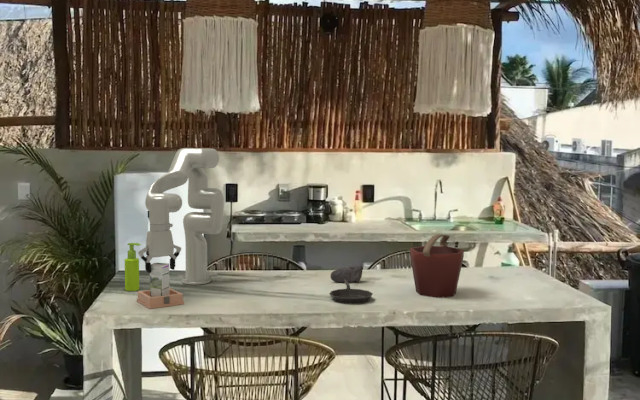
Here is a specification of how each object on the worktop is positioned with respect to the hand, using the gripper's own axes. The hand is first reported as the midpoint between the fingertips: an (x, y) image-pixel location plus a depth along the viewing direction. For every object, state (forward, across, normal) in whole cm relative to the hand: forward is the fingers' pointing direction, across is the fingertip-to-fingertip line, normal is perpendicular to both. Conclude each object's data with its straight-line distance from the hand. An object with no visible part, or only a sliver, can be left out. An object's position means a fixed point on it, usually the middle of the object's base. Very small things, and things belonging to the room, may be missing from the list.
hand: (160, 270), depth 271 cm
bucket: (+14, -105, +46) cm, 116 cm away
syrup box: (+12, +1, +1) cm, 12 cm away
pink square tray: (+13, +1, +1) cm, 13 cm away
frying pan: (+14, -70, +30) cm, 78 cm away
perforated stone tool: (+15, -85, +8) cm, 87 cm away
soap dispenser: (+14, +2, -27) cm, 30 cm away
